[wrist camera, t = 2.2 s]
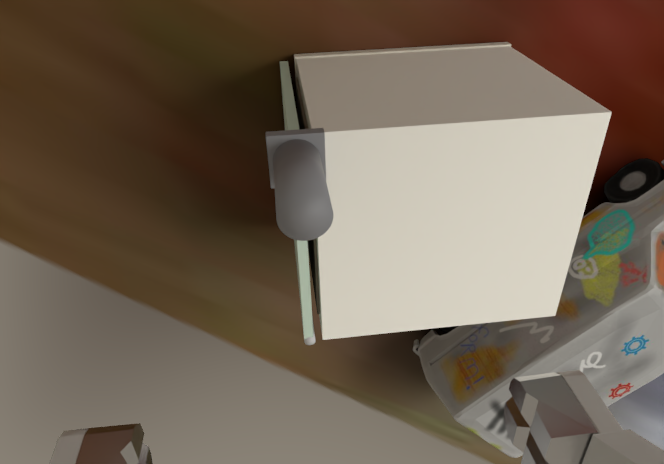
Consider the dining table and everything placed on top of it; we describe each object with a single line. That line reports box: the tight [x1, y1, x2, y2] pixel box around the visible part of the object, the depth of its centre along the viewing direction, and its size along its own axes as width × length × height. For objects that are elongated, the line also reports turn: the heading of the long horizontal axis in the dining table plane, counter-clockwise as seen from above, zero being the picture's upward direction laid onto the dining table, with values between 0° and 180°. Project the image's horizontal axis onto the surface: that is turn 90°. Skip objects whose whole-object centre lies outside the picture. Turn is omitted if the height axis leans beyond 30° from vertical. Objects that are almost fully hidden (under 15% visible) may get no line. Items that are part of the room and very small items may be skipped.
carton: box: [294, 42, 612, 340], centre depth 31 cm, size 13×12×12 cm
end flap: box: [266, 61, 333, 345], centre depth 28 cm, size 2×12×17 cm, turn 2°
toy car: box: [413, 158, 664, 458], centre depth 41 cm, size 11×25×10 cm, turn 134°
